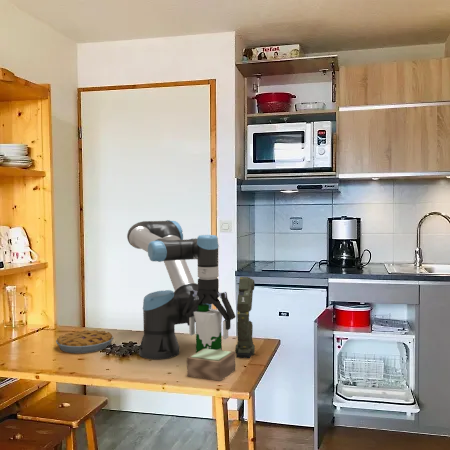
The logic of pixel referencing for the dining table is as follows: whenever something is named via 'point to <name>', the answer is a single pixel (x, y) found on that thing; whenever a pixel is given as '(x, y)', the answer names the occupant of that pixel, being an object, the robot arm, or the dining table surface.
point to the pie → (84, 341)
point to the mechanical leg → (244, 319)
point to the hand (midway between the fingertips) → (208, 336)
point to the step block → (211, 364)
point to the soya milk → (208, 328)
